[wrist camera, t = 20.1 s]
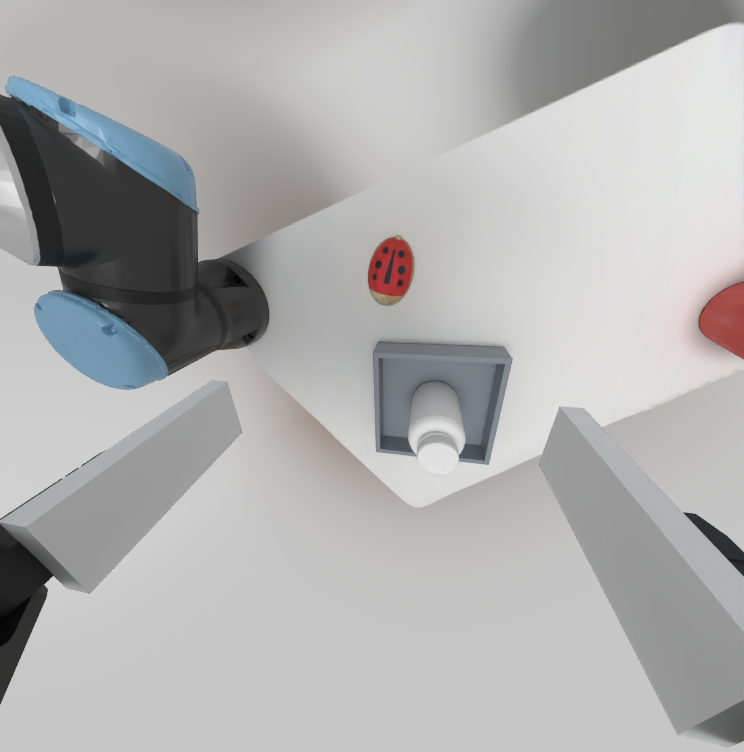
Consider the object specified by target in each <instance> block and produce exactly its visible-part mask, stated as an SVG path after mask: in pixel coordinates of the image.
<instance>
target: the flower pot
mask: <svg viewBox="0 0 744 752" xmlns="http://www.w3.org/2000/svg"><path fill="white" fill-rule="evenodd" d="M699 324H700V329H701V331H702V332H703V334H704V335H705V336H707V337H708V338H710V339H711V340H713V341H714V342H716V343H717V344H719V345H721V346H722V347H724V348H725V349H727V350H729V351H730V352H732V353H734V354H735V355H737V356H739V357H741V358H742V359H744V282H742V283H739V284H736V285H733V286H731V287H729V288H727V289H725V290H723V291H722V292H720V293H719V294H718V295H716V296H715V297H714V298H713V299H712V300H711V301H710V302H709V303H708V304H707V305H706V307H705V309H704V311H703V312H702V314H701V316H700V321H699Z"/></svg>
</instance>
